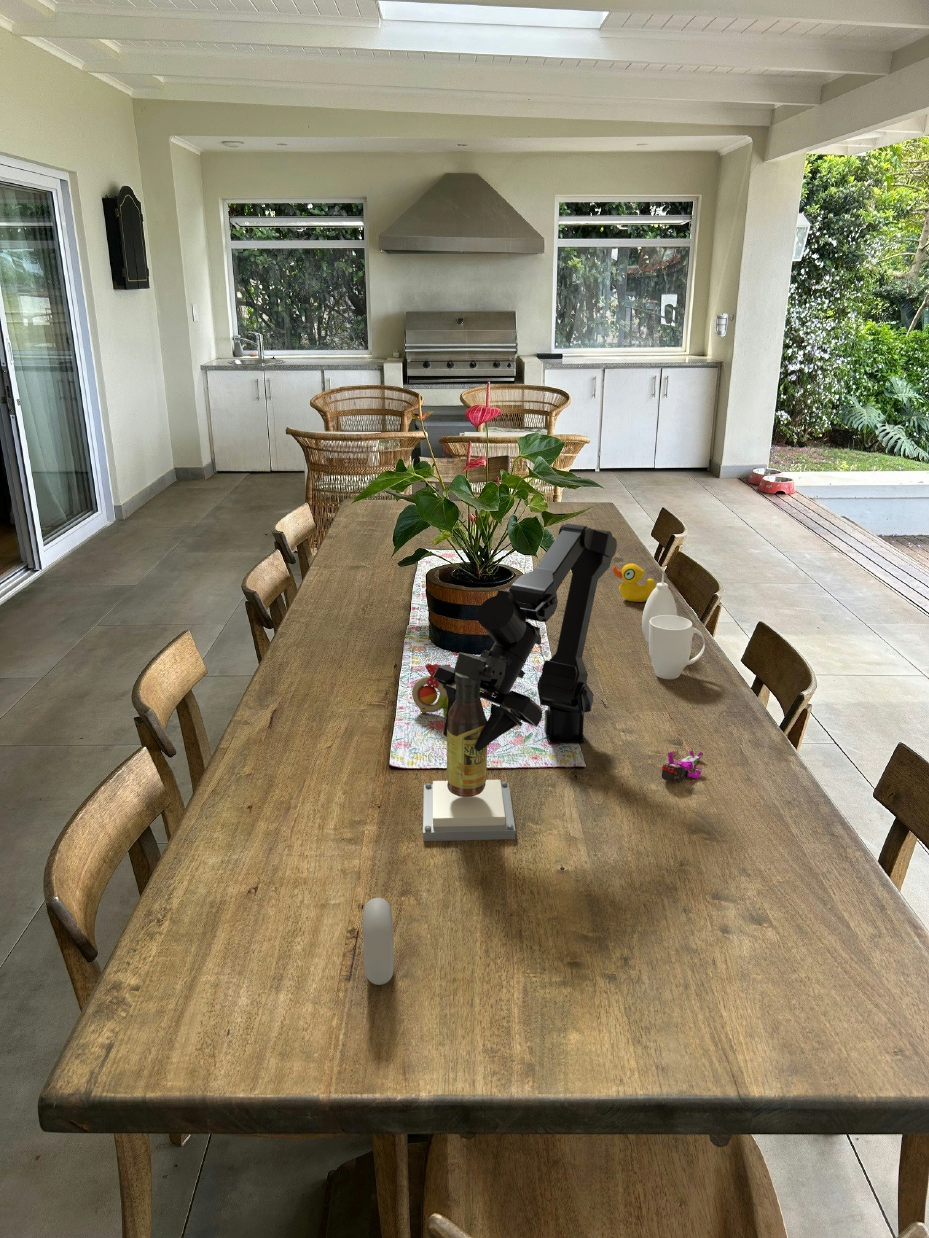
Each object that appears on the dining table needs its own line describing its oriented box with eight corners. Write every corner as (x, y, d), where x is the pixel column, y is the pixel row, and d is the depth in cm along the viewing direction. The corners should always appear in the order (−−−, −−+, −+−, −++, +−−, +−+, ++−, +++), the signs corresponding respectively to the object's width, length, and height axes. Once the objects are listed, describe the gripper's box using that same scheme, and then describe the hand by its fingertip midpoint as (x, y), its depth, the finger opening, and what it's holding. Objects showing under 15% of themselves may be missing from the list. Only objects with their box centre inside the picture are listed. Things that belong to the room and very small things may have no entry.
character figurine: (680, 760, 164) (653, 782, 154) (685, 734, 163) (657, 754, 153) (711, 770, 161) (685, 793, 151) (715, 744, 160) (690, 764, 150)
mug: (649, 682, 193) (652, 628, 189) (643, 666, 201) (646, 614, 197) (705, 683, 192) (710, 629, 188) (697, 667, 200) (702, 615, 196)
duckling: (609, 601, 240) (611, 565, 237) (613, 595, 245) (615, 559, 241) (652, 606, 237) (655, 569, 233) (656, 600, 241) (658, 563, 238)
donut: (366, 946, 117) (363, 881, 114) (393, 945, 118) (391, 880, 114) (364, 1004, 108) (361, 935, 105) (394, 1002, 108) (391, 933, 105)
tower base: (508, 790, 153) (508, 774, 152) (515, 838, 140) (515, 822, 138) (424, 792, 152) (423, 776, 151) (423, 840, 139) (422, 824, 138)
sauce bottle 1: (467, 803, 140) (466, 686, 133) (438, 789, 144) (436, 674, 137) (495, 787, 145) (496, 672, 138) (466, 773, 149) (465, 661, 142)
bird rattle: (421, 730, 178) (463, 716, 175) (397, 680, 175) (439, 665, 172) (427, 716, 183) (468, 702, 181) (404, 667, 180) (445, 653, 178)
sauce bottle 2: (678, 653, 207) (684, 578, 201) (643, 653, 207) (648, 577, 201) (671, 640, 214) (677, 567, 208) (637, 640, 215) (642, 567, 208)
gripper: (439, 617, 144) (390, 703, 141) (531, 648, 132) (480, 743, 129) (474, 648, 152) (428, 731, 149) (563, 680, 140) (516, 771, 137)
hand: (460, 742), depth 140 cm, fingers closed on sauce bottle 1, 6 cm apart
